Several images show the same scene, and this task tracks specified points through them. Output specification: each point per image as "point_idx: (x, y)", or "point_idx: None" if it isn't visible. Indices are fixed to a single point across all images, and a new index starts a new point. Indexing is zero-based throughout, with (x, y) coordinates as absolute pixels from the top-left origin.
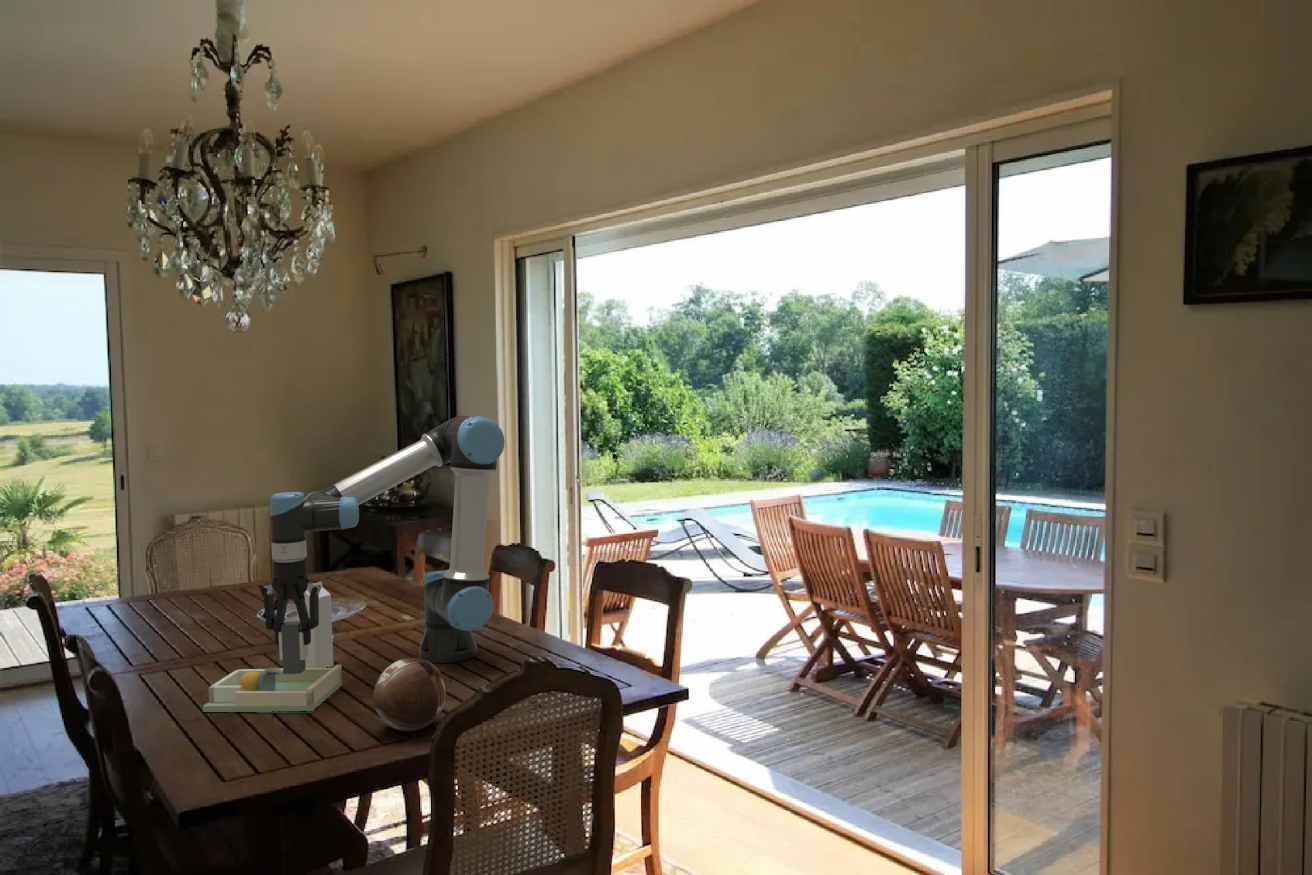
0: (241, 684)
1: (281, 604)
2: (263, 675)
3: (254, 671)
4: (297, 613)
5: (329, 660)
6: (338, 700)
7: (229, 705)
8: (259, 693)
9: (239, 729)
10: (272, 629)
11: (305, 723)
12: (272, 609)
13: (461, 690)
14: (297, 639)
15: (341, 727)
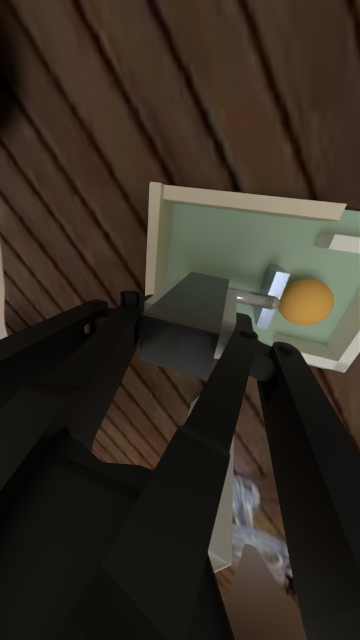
0: (328, 287)
1: (197, 430)
2: (276, 273)
3: (303, 313)
4: (231, 507)
5: (193, 406)
6: (143, 254)
7: (346, 214)
8: (275, 197)
9: (307, 64)
10: (265, 345)
11: (162, 115)
12: (281, 443)
13: (11, 266)
14: (169, 295)
15: (89, 82)
